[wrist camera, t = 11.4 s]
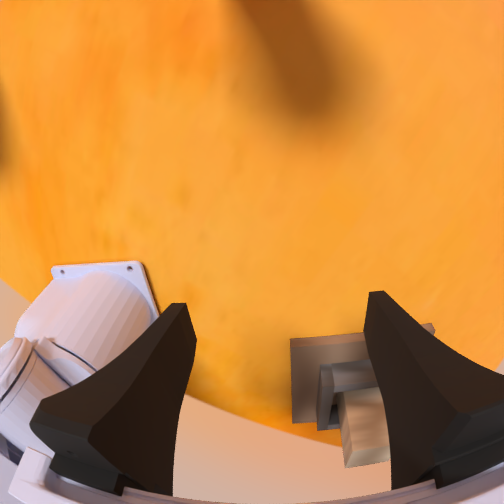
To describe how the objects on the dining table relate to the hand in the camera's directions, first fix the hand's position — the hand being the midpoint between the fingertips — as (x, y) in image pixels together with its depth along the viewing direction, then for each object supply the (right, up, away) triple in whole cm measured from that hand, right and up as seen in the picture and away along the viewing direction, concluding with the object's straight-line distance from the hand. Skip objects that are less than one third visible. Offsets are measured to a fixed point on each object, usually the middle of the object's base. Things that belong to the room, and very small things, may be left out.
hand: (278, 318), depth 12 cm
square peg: (+9, -10, +15) cm, 20 cm away
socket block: (+9, -10, +16) cm, 21 cm away
